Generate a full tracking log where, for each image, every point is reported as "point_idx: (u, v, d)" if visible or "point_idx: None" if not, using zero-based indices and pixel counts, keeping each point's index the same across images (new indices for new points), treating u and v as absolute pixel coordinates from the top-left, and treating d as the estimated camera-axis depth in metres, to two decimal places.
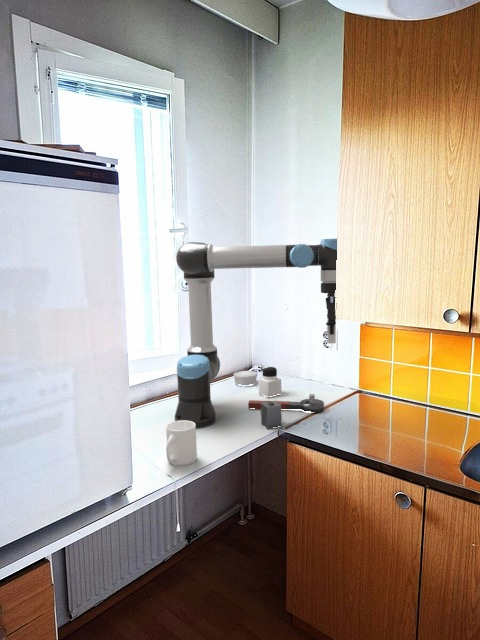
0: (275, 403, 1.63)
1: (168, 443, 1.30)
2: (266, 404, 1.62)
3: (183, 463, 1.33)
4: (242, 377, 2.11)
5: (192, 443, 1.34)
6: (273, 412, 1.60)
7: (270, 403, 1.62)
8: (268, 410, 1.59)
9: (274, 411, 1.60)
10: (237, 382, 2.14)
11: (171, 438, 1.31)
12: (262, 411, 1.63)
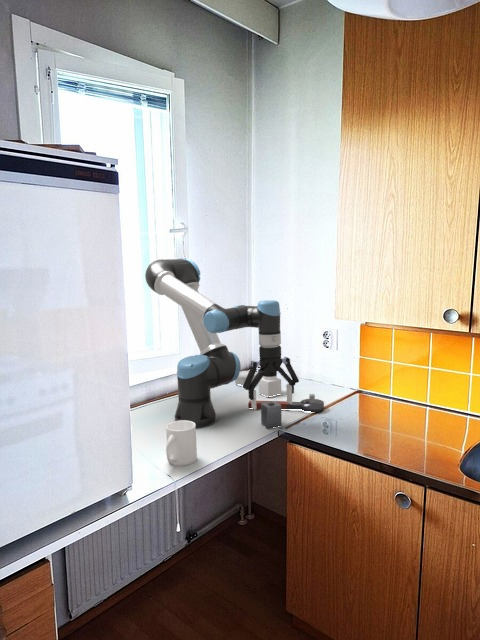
0: (275, 403, 1.63)
1: (168, 443, 1.30)
2: (266, 404, 1.62)
3: (183, 463, 1.33)
4: (242, 377, 2.11)
5: (192, 443, 1.34)
6: (273, 412, 1.60)
7: (270, 403, 1.62)
8: (268, 410, 1.59)
9: (274, 411, 1.60)
10: (237, 382, 2.14)
11: (171, 438, 1.31)
12: (262, 411, 1.63)
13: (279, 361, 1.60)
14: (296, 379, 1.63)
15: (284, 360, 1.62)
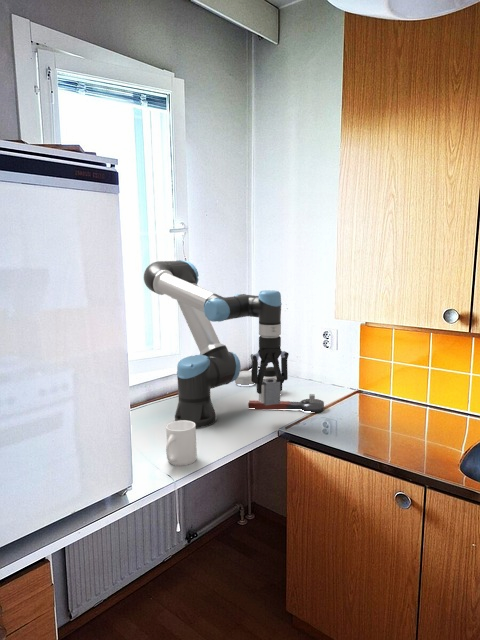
0: (274, 380, 1.62)
1: (168, 443, 1.30)
2: (265, 380, 1.61)
3: (183, 463, 1.33)
4: (242, 377, 2.11)
5: (192, 443, 1.34)
6: (272, 388, 1.59)
7: (269, 379, 1.61)
8: (267, 386, 1.58)
9: (273, 387, 1.59)
10: (237, 382, 2.14)
11: (171, 438, 1.31)
12: None
13: (278, 351, 1.60)
14: (285, 376, 1.62)
15: (283, 353, 1.61)
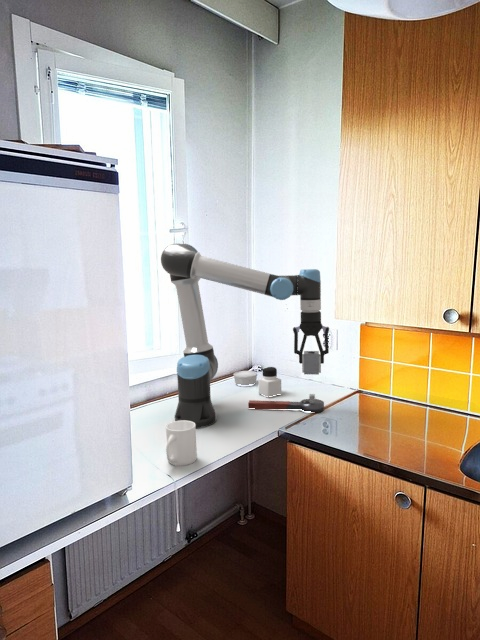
0: (316, 352, 1.74)
1: (168, 443, 1.30)
2: (307, 352, 1.75)
3: (183, 463, 1.33)
4: (242, 377, 2.11)
5: (192, 443, 1.34)
6: (310, 359, 1.72)
7: (310, 351, 1.75)
8: (305, 356, 1.73)
9: (311, 358, 1.72)
10: (237, 382, 2.14)
11: (171, 438, 1.31)
12: None
13: (318, 326, 1.72)
14: (326, 350, 1.73)
15: (324, 328, 1.72)
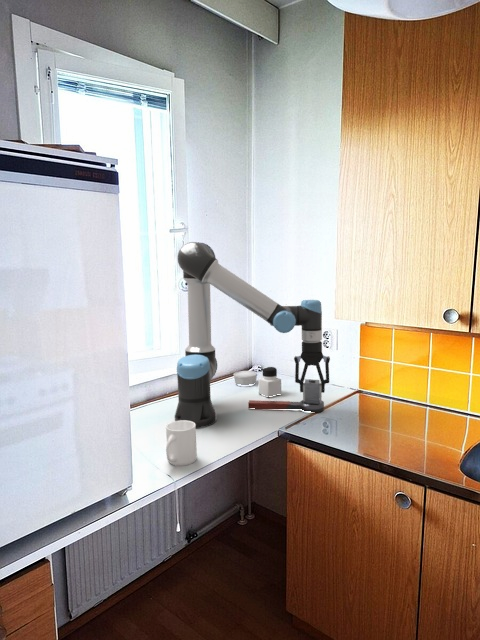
0: (316, 381, 1.77)
1: (168, 443, 1.30)
2: (308, 381, 1.78)
3: (183, 463, 1.33)
4: (242, 377, 2.11)
5: (192, 443, 1.34)
6: (311, 388, 1.75)
7: (311, 380, 1.77)
8: (306, 386, 1.75)
9: (312, 388, 1.75)
10: (237, 382, 2.14)
11: (171, 438, 1.31)
12: None
13: (319, 356, 1.74)
14: (327, 379, 1.75)
15: (325, 358, 1.75)
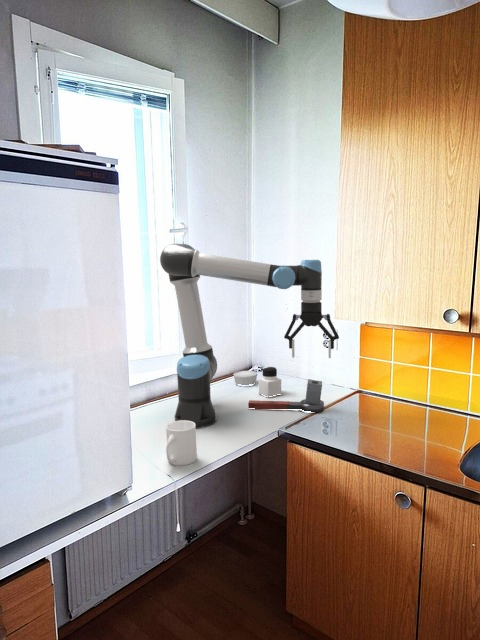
0: (319, 382, 1.77)
1: (168, 443, 1.30)
2: (310, 381, 1.77)
3: (183, 463, 1.33)
4: (242, 377, 2.11)
5: (192, 443, 1.34)
6: (313, 389, 1.75)
7: (314, 381, 1.77)
8: (308, 386, 1.75)
9: (314, 388, 1.74)
10: (237, 382, 2.14)
11: (171, 438, 1.31)
12: None
13: (319, 316, 1.72)
14: (336, 335, 1.72)
15: (325, 316, 1.73)
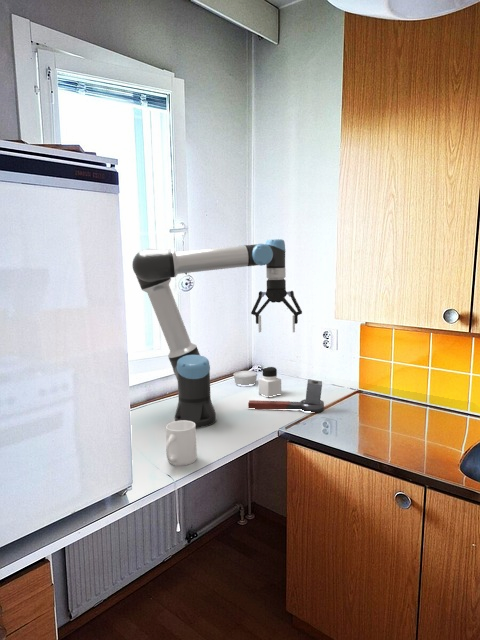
0: (319, 382, 1.77)
1: (168, 443, 1.30)
2: (310, 381, 1.77)
3: (183, 463, 1.33)
4: (242, 377, 2.11)
5: (192, 443, 1.34)
6: (313, 389, 1.75)
7: (314, 381, 1.77)
8: (308, 386, 1.75)
9: (314, 388, 1.74)
10: (237, 382, 2.14)
11: (171, 438, 1.31)
12: None
13: (283, 293, 1.83)
14: (299, 311, 1.83)
15: (289, 293, 1.84)
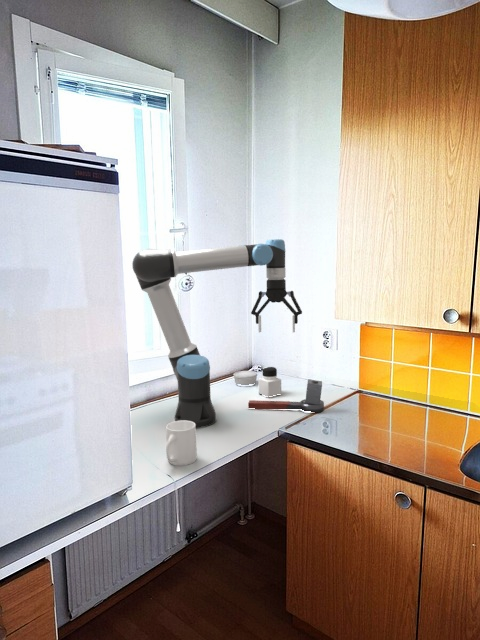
0: (319, 382, 1.77)
1: (168, 443, 1.30)
2: (310, 381, 1.77)
3: (183, 463, 1.33)
4: (242, 377, 2.11)
5: (192, 443, 1.34)
6: (313, 389, 1.75)
7: (314, 381, 1.77)
8: (308, 386, 1.75)
9: (314, 388, 1.74)
10: (237, 382, 2.14)
11: (171, 438, 1.31)
12: None
13: (283, 293, 1.83)
14: (299, 311, 1.83)
15: (289, 293, 1.84)
